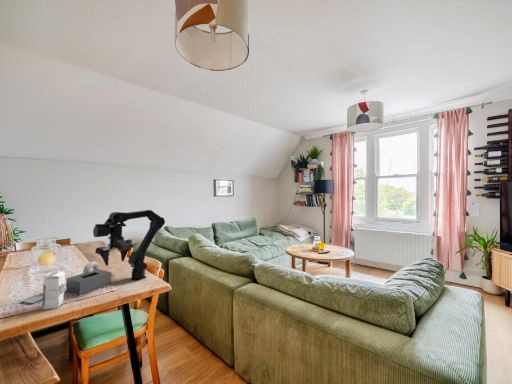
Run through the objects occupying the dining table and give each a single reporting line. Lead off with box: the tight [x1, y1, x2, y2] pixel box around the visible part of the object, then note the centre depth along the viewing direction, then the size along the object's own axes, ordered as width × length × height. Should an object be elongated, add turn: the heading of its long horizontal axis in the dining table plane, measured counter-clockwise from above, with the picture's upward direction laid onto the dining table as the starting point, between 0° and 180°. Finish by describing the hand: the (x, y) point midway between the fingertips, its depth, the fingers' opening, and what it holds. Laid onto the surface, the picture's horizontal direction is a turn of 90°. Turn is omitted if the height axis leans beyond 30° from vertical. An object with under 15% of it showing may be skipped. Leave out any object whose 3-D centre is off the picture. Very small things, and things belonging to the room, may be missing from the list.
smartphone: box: [19, 292, 43, 306], centre depth 114 cm, size 7×1×15 cm
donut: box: [82, 260, 101, 274], centre depth 139 cm, size 10×3×10 cm, turn 170°
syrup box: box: [41, 271, 66, 311], centre depth 105 cm, size 6×6×14 cm
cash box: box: [65, 269, 112, 297], centre depth 125 cm, size 16×11×7 cm
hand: (115, 263), depth 131 cm, fingers open, 9 cm apart
